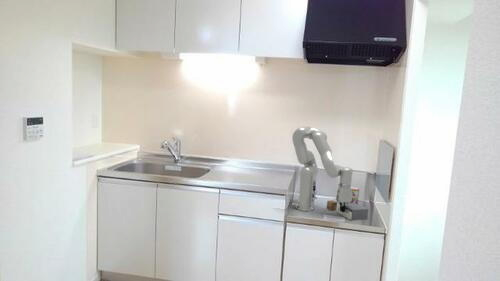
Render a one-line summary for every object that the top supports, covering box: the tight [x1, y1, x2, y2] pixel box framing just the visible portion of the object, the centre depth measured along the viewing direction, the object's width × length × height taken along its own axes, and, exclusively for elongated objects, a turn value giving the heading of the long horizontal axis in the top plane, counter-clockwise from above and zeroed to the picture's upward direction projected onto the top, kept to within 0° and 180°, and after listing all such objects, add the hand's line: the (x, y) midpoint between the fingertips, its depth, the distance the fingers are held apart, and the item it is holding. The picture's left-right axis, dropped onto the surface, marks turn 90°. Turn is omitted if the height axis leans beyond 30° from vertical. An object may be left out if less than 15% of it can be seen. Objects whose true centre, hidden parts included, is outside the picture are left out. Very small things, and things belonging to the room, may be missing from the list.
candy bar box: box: [350, 186, 360, 204], centre depth 245 cm, size 11×5×16 cm, turn 77°
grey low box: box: [345, 203, 369, 221], centre depth 230 cm, size 13×14×7 cm
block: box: [326, 199, 338, 212], centre depth 241 cm, size 5×5×6 cm
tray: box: [336, 205, 352, 221], centre depth 229 cm, size 13×14×5 cm
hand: (342, 211), depth 226 cm, fingers closed
